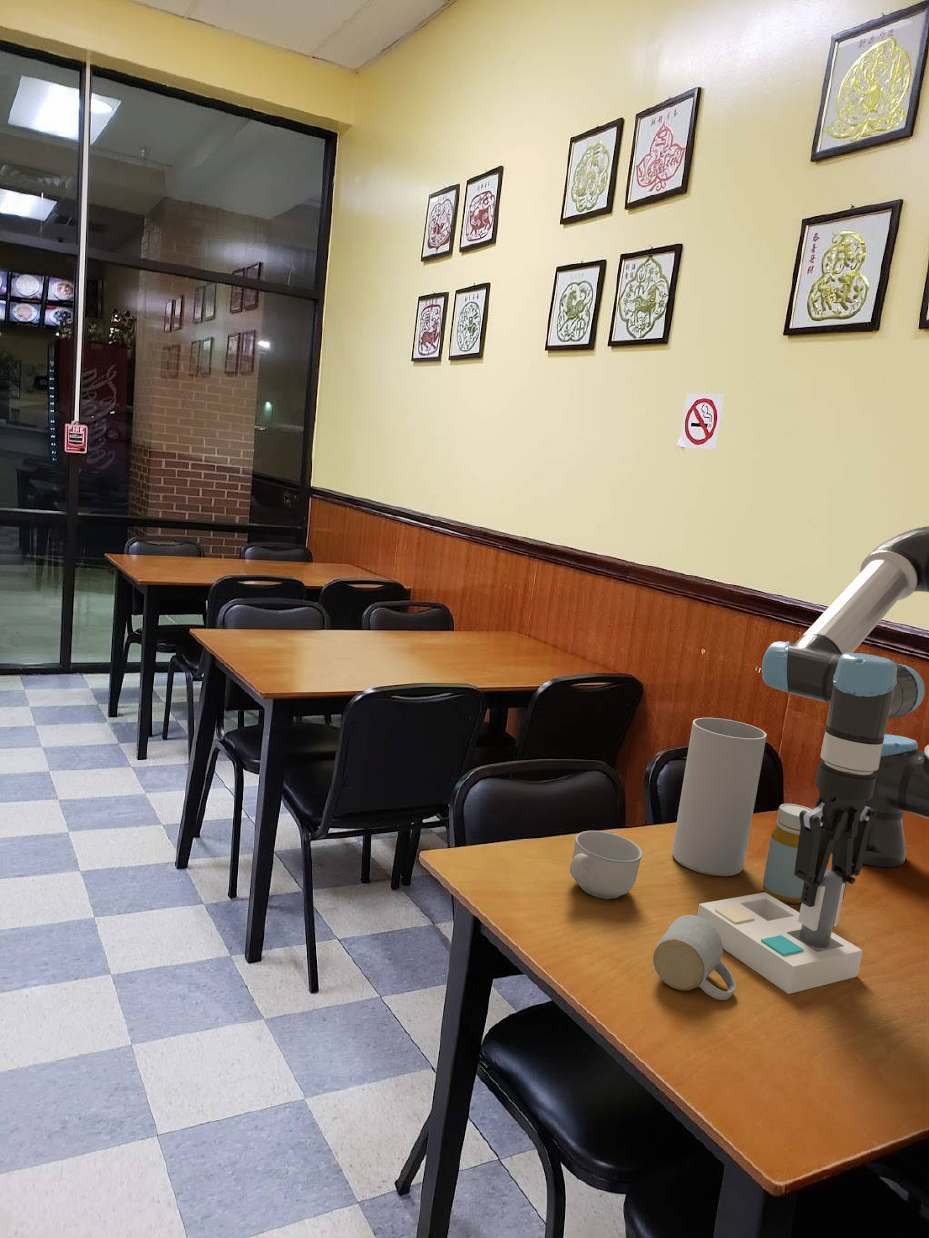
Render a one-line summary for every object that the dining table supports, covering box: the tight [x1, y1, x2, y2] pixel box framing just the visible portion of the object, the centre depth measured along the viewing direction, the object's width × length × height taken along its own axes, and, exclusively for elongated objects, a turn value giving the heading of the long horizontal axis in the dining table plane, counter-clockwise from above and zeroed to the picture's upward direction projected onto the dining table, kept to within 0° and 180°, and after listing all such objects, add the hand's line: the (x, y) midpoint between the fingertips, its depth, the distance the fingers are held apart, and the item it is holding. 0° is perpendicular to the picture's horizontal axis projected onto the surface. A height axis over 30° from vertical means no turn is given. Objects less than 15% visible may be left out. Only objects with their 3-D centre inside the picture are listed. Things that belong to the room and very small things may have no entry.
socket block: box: [696, 891, 864, 995], centre depth 132 cm, size 14×18×4 cm
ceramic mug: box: [652, 914, 737, 1001], centre depth 121 cm, size 11×8×8 cm
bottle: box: [761, 803, 813, 905], centre depth 151 cm, size 7×7×15 cm
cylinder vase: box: [671, 717, 768, 877], centre depth 160 cm, size 12×12×25 cm
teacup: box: [569, 830, 643, 900], centre depth 145 cm, size 14×11×8 cm
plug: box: [800, 868, 842, 948], centre depth 128 cm, size 4×4×10 cm
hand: (817, 923), depth 129 cm, fingers closed on plug, 3 cm apart
